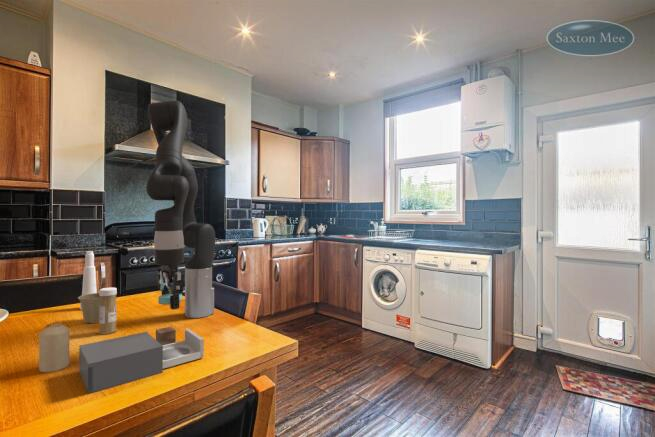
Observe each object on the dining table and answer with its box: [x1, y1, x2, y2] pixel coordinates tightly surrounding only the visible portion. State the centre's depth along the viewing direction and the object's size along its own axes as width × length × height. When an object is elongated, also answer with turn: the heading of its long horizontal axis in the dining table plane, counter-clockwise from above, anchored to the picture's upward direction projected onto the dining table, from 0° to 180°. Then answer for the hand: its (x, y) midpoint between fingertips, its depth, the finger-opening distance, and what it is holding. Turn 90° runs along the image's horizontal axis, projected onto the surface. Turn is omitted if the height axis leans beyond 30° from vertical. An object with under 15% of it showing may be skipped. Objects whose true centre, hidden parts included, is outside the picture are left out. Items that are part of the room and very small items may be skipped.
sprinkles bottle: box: [98, 287, 118, 335], centre depth 103 cm, size 5×5×14 cm
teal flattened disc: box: [157, 293, 183, 306], centre depth 94 cm, size 6×6×2 cm
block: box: [155, 326, 177, 346], centre depth 94 cm, size 4×4×4 cm
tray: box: [163, 328, 205, 370], centre depth 84 cm, size 13×11×5 cm
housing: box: [78, 331, 164, 394], centre depth 77 cm, size 14×13×6 cm
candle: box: [38, 322, 70, 374], centre depth 79 cm, size 6×6×10 cm
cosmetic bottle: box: [79, 250, 98, 311], centre depth 129 cm, size 6×6×22 cm
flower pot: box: [77, 292, 100, 324], centre depth 114 cm, size 9×9×9 cm
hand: (170, 306), depth 94 cm, fingers closed on teal flattened disc, 6 cm apart
